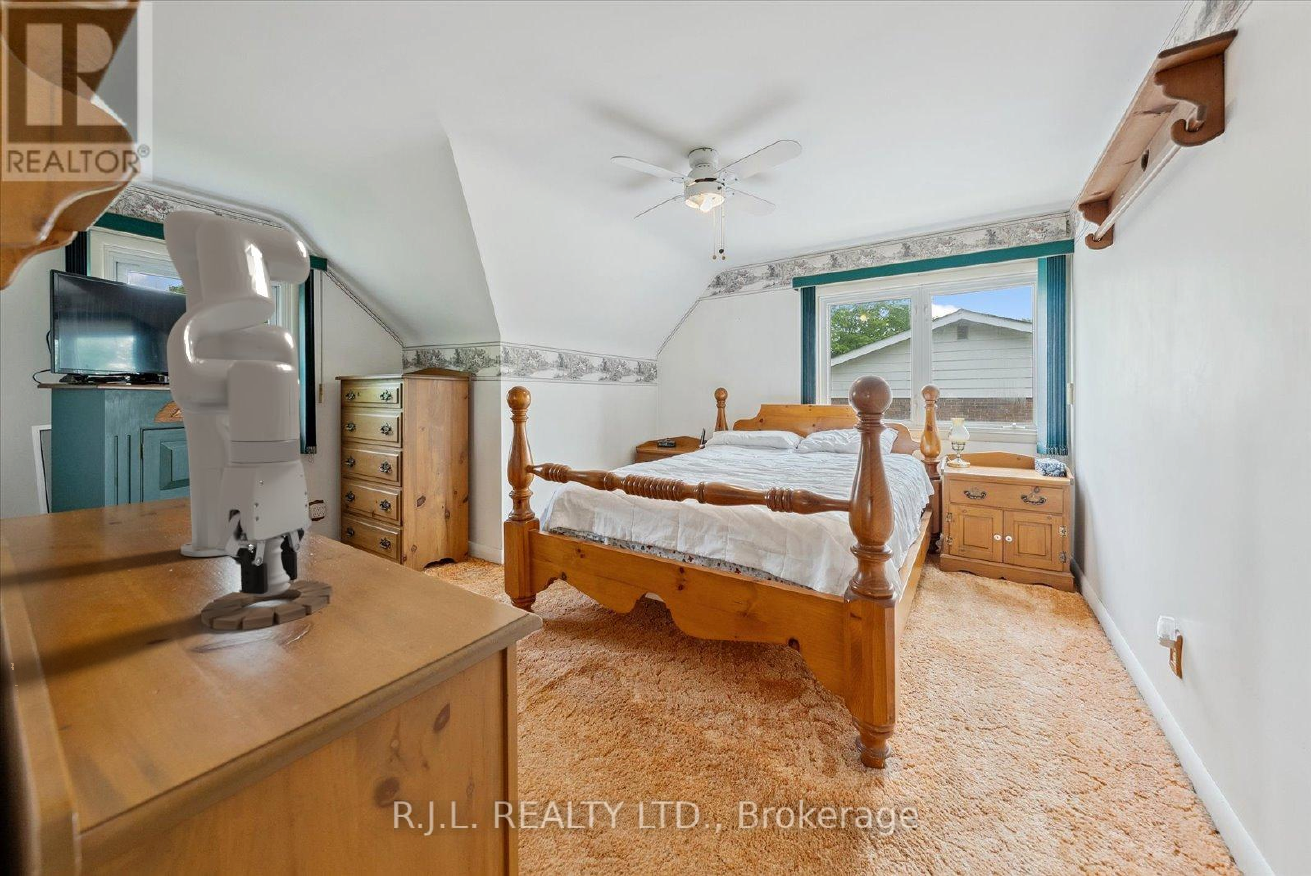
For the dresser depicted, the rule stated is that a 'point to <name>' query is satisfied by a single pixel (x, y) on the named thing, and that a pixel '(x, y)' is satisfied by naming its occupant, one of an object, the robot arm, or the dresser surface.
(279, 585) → the rook chess piece
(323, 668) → the dresser surface
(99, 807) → the dresser surface
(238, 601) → the walnut ring
